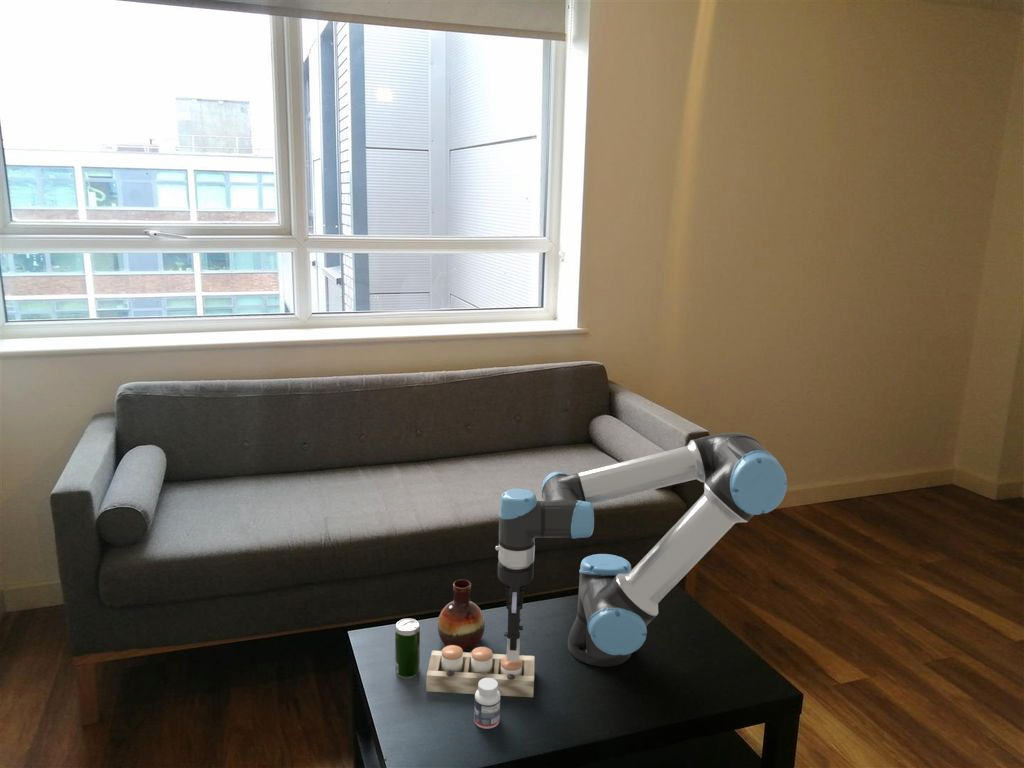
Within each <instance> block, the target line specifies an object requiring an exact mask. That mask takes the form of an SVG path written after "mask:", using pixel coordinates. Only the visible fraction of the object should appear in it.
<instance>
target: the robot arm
mask: <svg viewBox="0 0 1024 768" xmlns="http://www.w3.org/2000/svg"><path fill="white" fill-rule="evenodd" d="M694 480H697V481H699V482H701V483H703V489H704V492H703V494H702V495H701V496H700V497H699V498H698V499H697V501H695V503H694V504H692V506H691V507H690V508H689V509H688V510H687V511H686V512H685V513H684V514H683V515H682V516H681V518H679V519H678V520H677V522H676V523H675V524H674V525H673V526H672V527H671V528H670V529H669V530H668V531H667V532H666V533H665V534H664V536H663V537H662V538H661V539H660V540H659V541H657V543H656V544H655V545H654V546H653V547H652V548H651V549H650V550H649V551H648V553H646V555H644V556H643V558H642V559H640V561H639V562H638V563H637V564H636V565H635V566H634V567H633V568H632V564H631V563H630V562H629V561H628V560H627V559H625V558H624V557H622V556H618V555H614V554H608V553H597V554H592V555H588V556H586V557H584V558H583V559H582V560H581V561H580V562H581V563H580V569H579V570H578V571H579V582H578V598H577V599H578V600H577V613H576V614H577V615H576V617H575V619H574V622H573V624H572V627H571V629H570V631H569V634H568V638H567V639H568V640H567V648H568V651H569V653H570V654H571V655H572V656H573V657H575V658H576V660H578V661H580V662H582V663H584V664H587V665H591V666H594V667H606V668H607V667H615V666H618V665H621V664H625V662H626V661H628V660H629V659H630V658H631V656H632V654H633V653H634V652H637V651H638V650H639V649H640V648H641V647H642V646H643V644H644V643H645V641H646V638H647V634H648V630H647V626H648V625H649V624H650V623H651V622H652V621H653V620H654V619H655V618H656V617H657V616H658V615H659V603H660V602H661V601H662V599H664V597H665V596H667V595H668V593H670V591H671V590H672V589H674V587H675V586H677V584H678V583H679V582H680V581H681V580H682V579H683V578H684V577H685V576H686V575H687V574H688V573H689V572H690V571H691V570H692V568H694V567H695V565H696V564H697V563H698V562H700V561H701V560H702V558H704V556H706V554H707V553H708V552H709V551H710V550H711V549H712V548H713V547H714V546H715V545H716V544H717V543H718V542H719V541H720V540H721V539H722V538H723V537H724V536H725V534H727V533H728V532H729V530H731V529H732V528H733V526H734V525H735V524H738V523H748V522H749V521H750V520H751V519H752V518H753V517H754V516H756V515H757V516H759V515H762V514H768V513H770V512H772V511H774V510H775V509H776V508H777V507H778V506H779V505H780V504H781V503H782V502H783V500H784V498H785V495H786V492H787V489H788V478H787V474H786V472H785V470H784V468H783V466H782V465H781V464H780V462H779V460H778V459H777V458H776V457H775V456H774V455H773V454H772V453H770V452H769V450H767V449H766V448H765V446H763V445H762V443H761V442H760V441H759V440H758V439H757V438H755V437H753V436H751V435H749V434H747V433H746V434H745V433H743V432H724V433H717V434H712V435H707V436H703V437H699V438H694V439H690V440H689V442H688V443H687V445H685V446H681V447H678V448H674V449H670V450H665V451H661V452H657V453H653V454H649V455H645V456H642V457H637V458H634V459H630V460H629V459H628V460H624V461H622V462H618V463H612V464H608V465H604V466H600V467H597V468H593V469H590V470H585V471H581V472H577V473H573V474H568V473H566V472H563V471H560V470H559V471H552V472H550V473H549V474H547V475H546V476H545V477H544V479H543V482H542V485H541V498H542V500H537V494H536V493H535V492H533V491H532V490H531V489H523V488H521V487H520V488H518V487H517V488H515V487H514V488H510V489H508V490H506V491H504V492H502V494H501V496H500V500H499V511H498V545H496V546H495V550H496V551H498V555H497V558H498V563H497V578H498V580H499V581H500V582H501V583H503V584H505V596H504V597H505V598H506V602H505V603H506V604H505V606H506V609H507V631H504V637H506V655H507V661H514V662H519V655H520V647H521V646H520V643H521V642H520V641H521V640H520V639H521V631H524V625H520V622H521V610H522V609H523V601H524V597H525V586H526V585H529V584H530V583H531V582H532V581H533V579H534V568H535V567H534V562H535V551H536V549H535V548H536V545H535V544H536V543H535V539H536V538H543V539H544V538H550V539H551V538H553V539H554V538H557V539H573V540H574V539H582V538H583V539H585V538H589V537H591V536H592V535H593V532H594V529H595V514H594V513H595V512H594V506H593V504H598V503H599V504H600V503H603V502H606V501H611V500H614V499H615V500H616V499H619V498H623V497H627V496H628V497H629V496H631V495H635V494H639V493H644V492H649V491H652V490H656V489H661V488H665V487H669V486H673V485H677V484H682V483H686V482H689V481H694Z"/></svg>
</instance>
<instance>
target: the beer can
mask: <svg viewBox="0 0 1024 768" xmlns="http://www.w3.org/2000/svg"><path fill="white" fill-rule="evenodd" d="M395 625H396V626H395V630H394V631H395V632H394V634H395V636H394V638H395V639H394V643H395V644H394V645H395V648H394V649H395V650H394V652H395V653H394V655H395V656H394V657H395V660H394V661H395V662H394V663H395V667H394V669H395V673H396V675H397V677H399V678H401V679H404V678H405V680H407V679H408V680H410V679H413V678H415V677H416V676H418V674H419V672H420V670H421V669H420V668H421V666H420V664H421V663H420V661H421V660H420V659H421V657H420V656H421V651H420V650H421V645H420V643H421V641H420V640H421V631H420V630H421V627H420V624H419V621H417V620H416V619H414V618H402V619H400V620H399V621H397V622H396V624H395Z"/></svg>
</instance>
